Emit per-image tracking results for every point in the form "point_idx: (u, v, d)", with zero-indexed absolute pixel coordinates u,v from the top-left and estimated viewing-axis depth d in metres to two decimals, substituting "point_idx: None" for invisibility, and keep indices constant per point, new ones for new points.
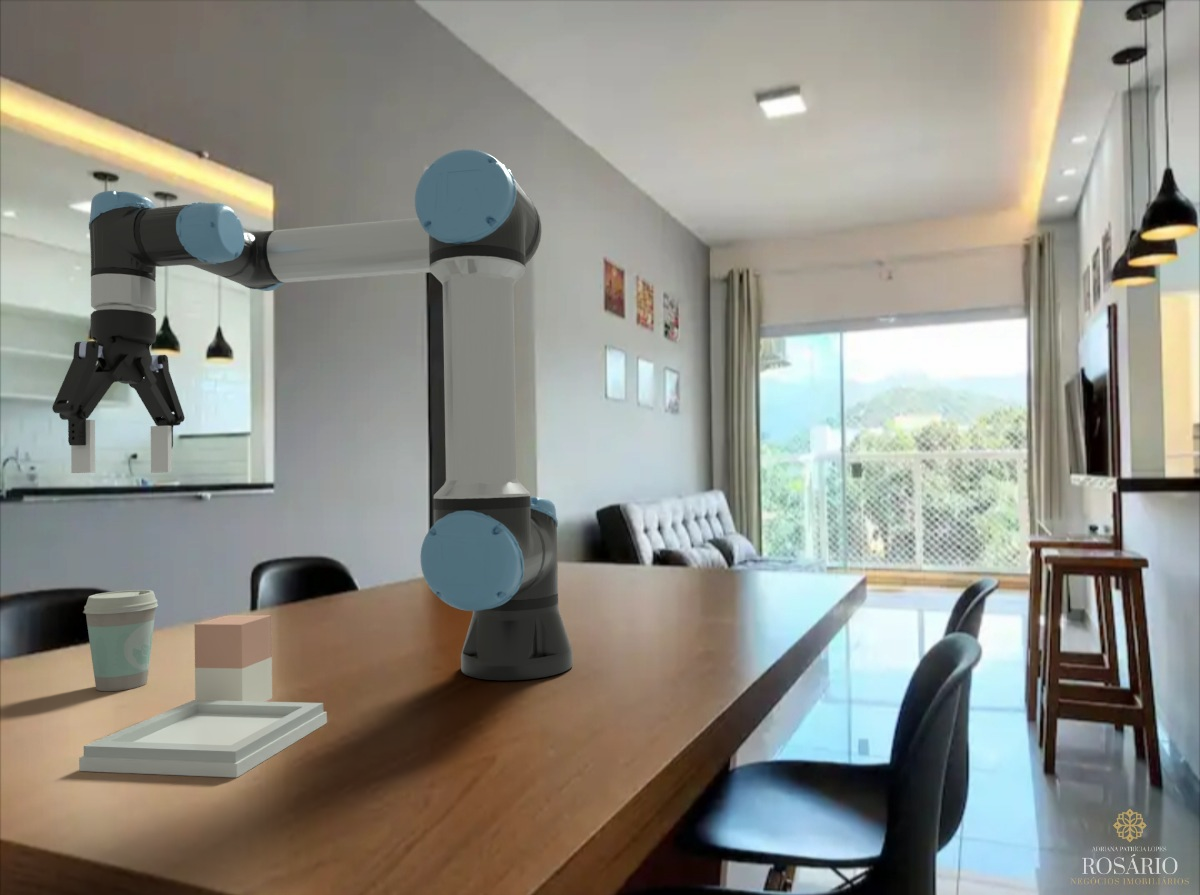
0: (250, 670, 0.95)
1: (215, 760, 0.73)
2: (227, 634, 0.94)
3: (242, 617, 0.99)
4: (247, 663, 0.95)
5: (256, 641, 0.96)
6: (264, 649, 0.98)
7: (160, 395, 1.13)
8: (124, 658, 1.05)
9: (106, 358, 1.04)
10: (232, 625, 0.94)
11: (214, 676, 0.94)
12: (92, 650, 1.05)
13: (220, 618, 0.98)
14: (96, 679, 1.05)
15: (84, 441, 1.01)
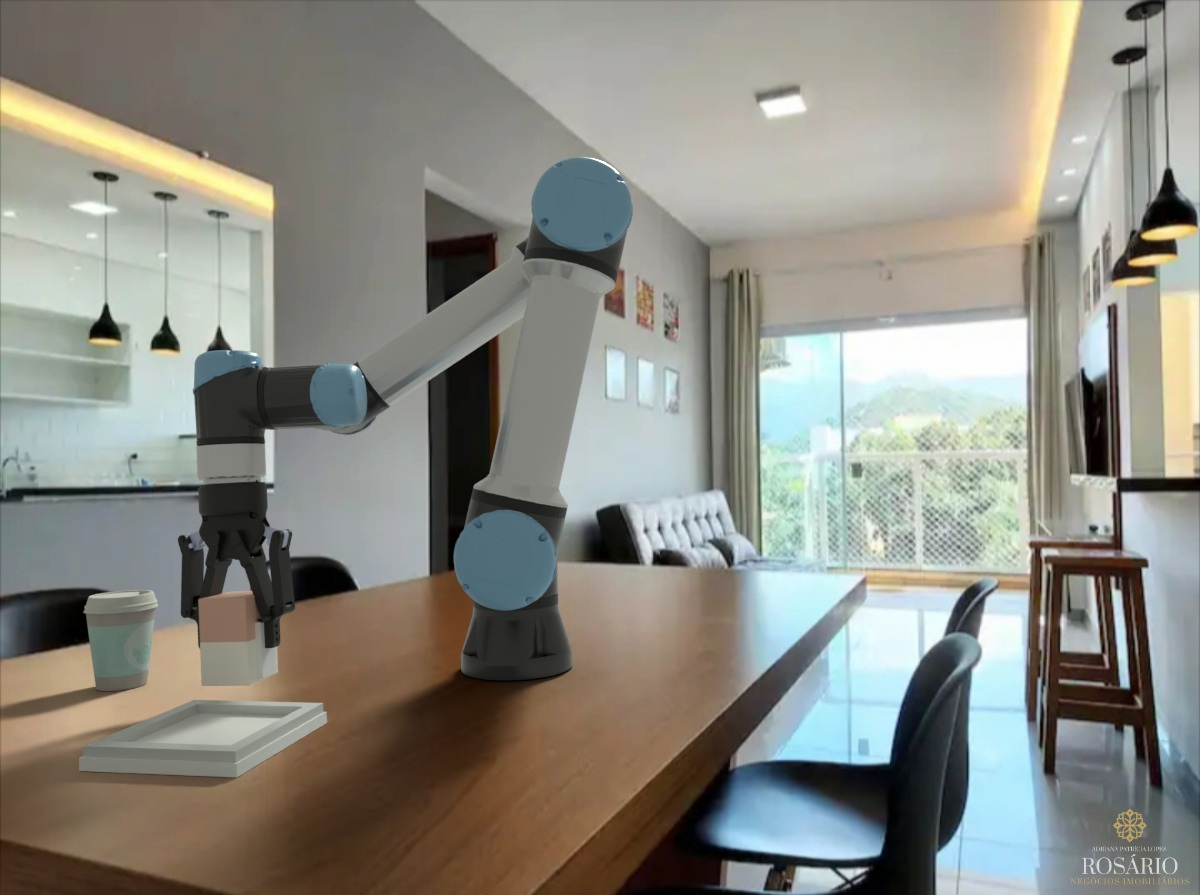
0: (255, 644, 0.95)
1: (215, 760, 0.73)
2: (231, 608, 0.94)
3: (246, 592, 0.99)
4: (252, 636, 0.95)
5: None
6: None
7: (256, 581, 0.96)
8: (124, 658, 1.05)
9: None
10: (236, 599, 0.94)
11: (219, 650, 0.94)
12: (92, 650, 1.05)
13: (224, 594, 0.99)
14: (96, 679, 1.05)
15: None
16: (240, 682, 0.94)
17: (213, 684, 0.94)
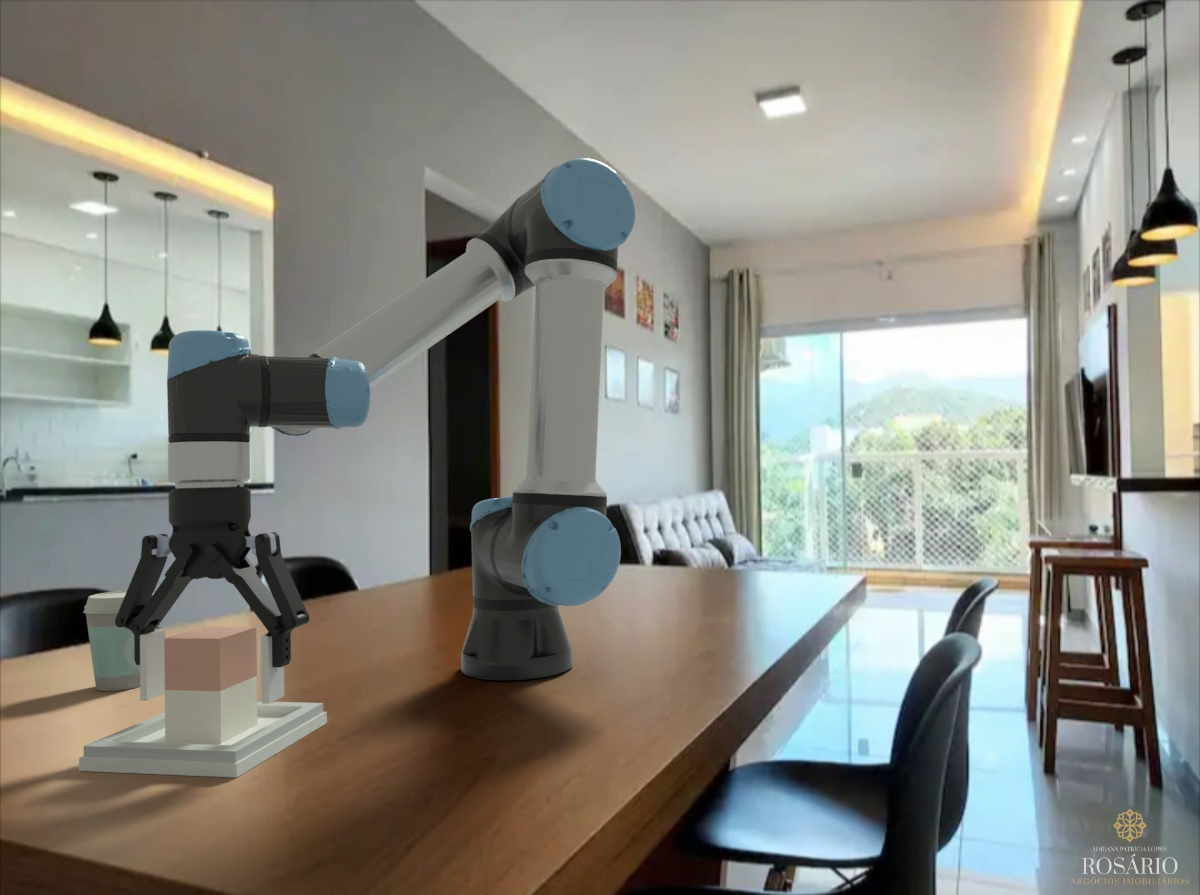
0: (230, 693, 0.80)
1: (215, 760, 0.73)
2: (203, 650, 0.79)
3: (222, 629, 0.84)
4: (227, 684, 0.80)
5: (237, 657, 0.82)
6: (248, 667, 0.83)
7: (250, 593, 0.80)
8: (124, 658, 1.05)
9: (172, 552, 0.83)
10: (209, 639, 0.79)
11: (187, 699, 0.79)
12: (92, 650, 1.05)
13: (196, 630, 0.83)
14: (96, 679, 1.05)
15: None
16: (211, 739, 0.79)
17: (179, 740, 0.79)
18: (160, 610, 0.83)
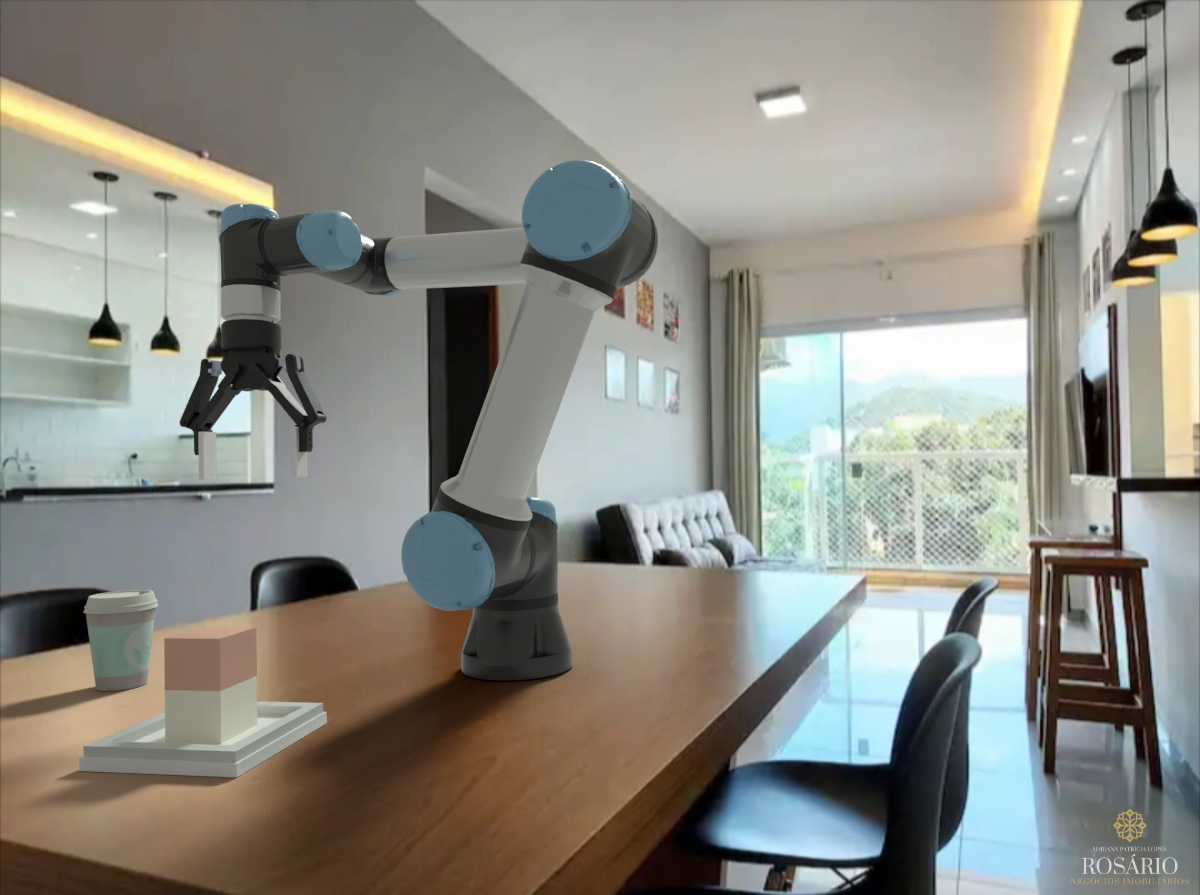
0: (230, 693, 0.80)
1: (215, 760, 0.73)
2: (203, 650, 0.79)
3: (222, 629, 0.84)
4: (227, 684, 0.80)
5: (237, 657, 0.82)
6: (248, 667, 0.83)
7: (282, 397, 1.09)
8: (124, 658, 1.05)
9: (223, 371, 1.11)
10: (209, 639, 0.79)
11: (187, 699, 0.79)
12: (92, 650, 1.05)
13: (196, 630, 0.83)
14: (96, 679, 1.05)
15: None
16: (211, 739, 0.79)
17: (179, 740, 0.79)
18: (213, 415, 1.11)
